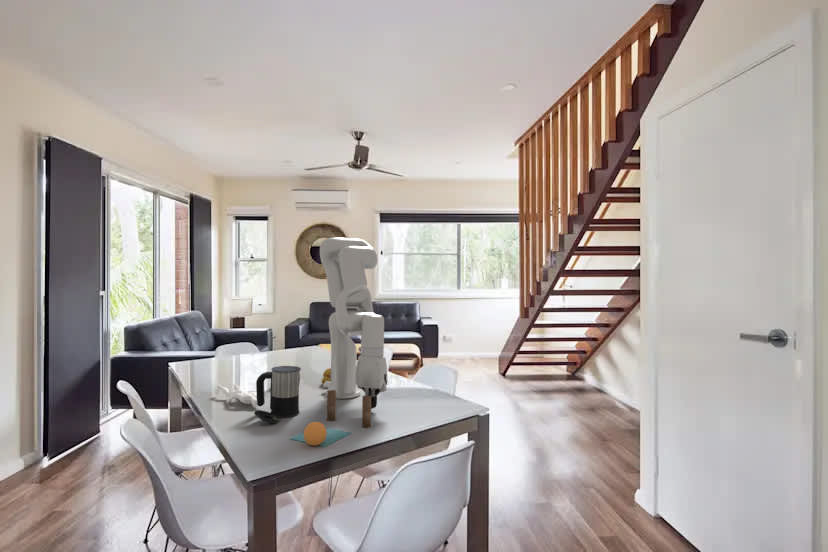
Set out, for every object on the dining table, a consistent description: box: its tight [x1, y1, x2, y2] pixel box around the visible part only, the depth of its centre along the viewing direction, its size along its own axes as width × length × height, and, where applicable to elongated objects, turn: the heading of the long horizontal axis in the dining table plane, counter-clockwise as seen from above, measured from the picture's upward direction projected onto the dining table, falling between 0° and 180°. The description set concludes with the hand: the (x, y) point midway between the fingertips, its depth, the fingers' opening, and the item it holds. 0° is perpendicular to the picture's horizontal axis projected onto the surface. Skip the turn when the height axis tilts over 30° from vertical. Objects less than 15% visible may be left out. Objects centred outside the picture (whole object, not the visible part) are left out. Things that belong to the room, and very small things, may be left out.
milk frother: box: [253, 365, 302, 425], centre depth 145 cm, size 14×16×15 cm
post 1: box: [326, 390, 337, 422], centre depth 144 cm, size 3×3×9 cm
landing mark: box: [289, 426, 352, 448], centre depth 129 cm, size 12×12×1 cm
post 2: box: [361, 394, 372, 429], centre depth 137 cm, size 3×3×9 cm
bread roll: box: [321, 367, 331, 385], centre depth 191 cm, size 13×10×8 cm
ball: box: [303, 421, 327, 446], centre depth 122 cm, size 6×6×6 cm
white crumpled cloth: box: [214, 383, 259, 408], centre depth 163 cm, size 12×6×25 cm
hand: (371, 407), depth 152 cm, fingers closed
